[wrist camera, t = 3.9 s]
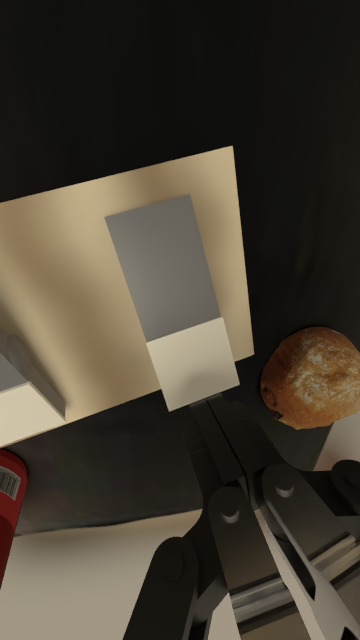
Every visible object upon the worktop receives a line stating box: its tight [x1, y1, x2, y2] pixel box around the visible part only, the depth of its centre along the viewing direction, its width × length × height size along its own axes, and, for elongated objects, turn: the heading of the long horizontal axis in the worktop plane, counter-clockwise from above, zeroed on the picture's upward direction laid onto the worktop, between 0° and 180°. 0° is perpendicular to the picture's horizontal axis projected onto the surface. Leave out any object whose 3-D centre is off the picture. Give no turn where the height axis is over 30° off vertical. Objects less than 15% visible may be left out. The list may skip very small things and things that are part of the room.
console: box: [0, 146, 254, 448], centre depth 16 cm, size 20×13×4 cm, turn 103°
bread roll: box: [260, 326, 360, 429], centre depth 25 cm, size 10×10×8 cm
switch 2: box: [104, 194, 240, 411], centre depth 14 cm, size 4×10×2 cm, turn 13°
